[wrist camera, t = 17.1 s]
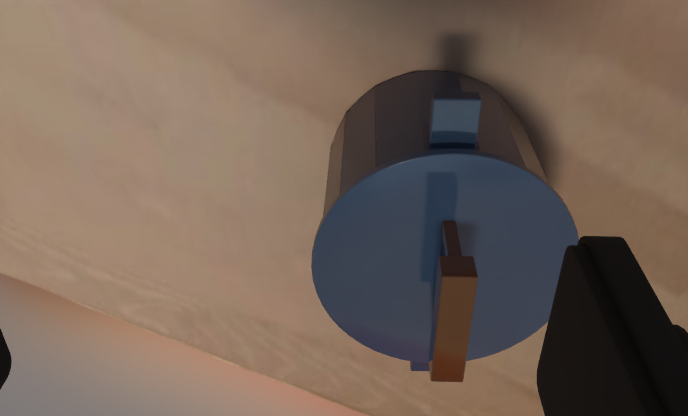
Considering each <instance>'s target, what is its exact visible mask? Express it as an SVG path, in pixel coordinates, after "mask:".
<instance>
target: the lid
mask: <svg viewBox="0 0 688 416" xmlns="http://www.w3.org/2000/svg"><path fill="white" fill-rule="evenodd" d="M578 241H579V239H578V233H577V229H576V226H575V224H574V221H573V218H572V216H571V214H570V212H569V210H568V208H567V206H566V205H565V203H564V201H563V199H562V198H561V197H560V196H559V194H558V193H557V192H556V191H555V190H554V188H553V187H552V186H551V185H550V184H548V183H547V182H546V181H545V180H544V179H543V178H542V177H541V176H539V175H538V174H536V173H535V172H533V171H532V170H530V169H529V168H527V167H525V166H523V165H521V164H519V163H517V162H515V161H513V160H511V159H508V158H505V157H502V156H499V155H496V154H493V153H488V152H483V151H477V150H469V149H456V148H453V149H434V150H428V151H421V152H416V153H412V154H408V155H405V156H401V157H398V158H395V159H393V160H390V161H388V162H386V163H383V164H381V165H379V166H377V167H375V168H374V169H372V170H370V171H368V172H366V173H365V174H363V175H362V176H361V177H359V178H358V179H356V180H355V181H354V182H352V183H351V184H350V185H349V186H348V187H347V188H346V189H345V190H344V191H343V192H341V193H340V194H339V195H338V197H337V198H336V199H335V200H334V202H333V203H332V204H331V205H330V207H329V208H328V210H327V211H326V213H325V215H324V217H323V218H322V220H321V222H320V225H319V227H318V230H317V232H316V235H315V240H314V245H313V250H312V266H311V267H312V276H313V282H314V285H315V289H316V292H317V295H318V297H319V299H320V301H321V303H322V305H323V307H324V308H325V310H326V311H327V313H328V314H329V316H330V317H331V318H332V319H333V321H334V322H335V323H336V324H337V325H338V326H339V327H340V328H341V329H342V330H343V331H344V332H346V333H347V334H348V335H349V336H350V337H352V338H353V339H355V340H356V341H358V342H359V343H361V344H363V345H365V346H367V347H369V348H371V349H373V350H375V351H377V352H380V353H382V354H385V355H388V356H391V357H395V358H398V359H402V360H408V361H414V362H422V363H429V369H430V379H431V381H438V382H463V378H464V371H465V364H466V361H469V360H473V359H478V358H482V357H486V356H489V355H492V354H495V353H498V352H500V351H503V350H505V349H507V348H510V347H512V346H514V345H515V344H517V343H519V342H521V341H523V340H525V339H526V338H527V337H529V336H530V335H532V334H533V333H535V332H536V331H537V330H539V329H540V328H541V327H542V326H543V325H545V324H546V323H547V322H548V321H549V317H550V313H551V309H552V304H553V300H554V296H555V292H556V287H557V283H558V279H559V275H560V271H561V266H562V262H563V258H564V254H565V251H566V248H567V247H568V246H569V245H577V244H578Z"/></svg>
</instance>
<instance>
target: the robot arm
mask: <svg viewBox="0 0 688 416" xmlns="http://www.w3.org/2000/svg"><path fill="white" fill-rule="evenodd" d="M10 369H11V355H10V352H9V349H8V347H7V344H6V342H5V339H4V337H3V334H2V332H1V329H0V389H1V387H2V386H3V384H4V382H5V381H6V379H7V377H8V375H9V372H10ZM537 387H538V392H539V396H540V399H541V403H542V407H543V410H544V414H545V416H688V333H687V332H686V331H685V329H684V328H682V327H680V326H678V325H673V324H672V323H671V321H670V319H669V317H668V316H667V314H666V312H665V310H664V308H663V307H662V305H661V303H660V301H659V300H658V298H657V296H656V294H655V292H654V291H653V289H652V287H651V285H650V284H649V282H648V280H647V278H646V276H645V275H644V273H643V271H642V269H641V267H640V266H639V264H638V262H637V260H636V259H635V257H634V255H633V253H632V251H631V250H630V248H629V246H628V244H627V243H626V241H625V240H624V239H623V238H621V237H604V236H583V237H581V238H580V240H579V241H578V244H577V245H569V246H568V247H567V248H566V251H565V254H564V258H563V262H562V266H561V271H560V275H559V279H558V283H557V287H556V292H555V296H554V300H553V304H552V309H551V313H550V317H549V321H548V325H547V330H546V334H545V338H544V342H543V347H542V351H541V355H540V359H539V364H538V368H537Z"/></svg>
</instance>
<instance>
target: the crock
mask: <svg viewBox="0 0 688 416" xmlns="http://www.w3.org/2000/svg"><path fill="white" fill-rule="evenodd" d="M453 148H456V149H469V150H477V151H483V152H488V153H493V154H496V155H499V156H502V157H505V158H508V159H511V160H513V161H515V162H517V163H519V164H521V165H523V166H525V167H527V168H529V169H530V170H532V171H533V172H535V173H536V174H538V175H539V176H541V177H542V178H543V179H544V180H545V181H546V182H547V183H548V184H549V182H548V180H547V178H546V176H545V174H544V171H543V169H542V167H541V165H540V162H539V160H538V158H537V156H536V154H535V151H534V149H533V147H532V145H531V142H530V140H529V138H528V136H527V134H526V131H525V129H524V127H523V125H522V122H521V120H520V118H519V116H518V115H517V114H516V113H515V112H514V111H513V109H512V108H511V107H510V105H509V104H508V103H507V102H506V100H505V99H504V98H503V97H501V96H500V95H499V94H498V93H497V92H496V91H495V90H493V89H492V88H490V87H489V86H487V85H486V84H484V83H482V82H480V81H478V80H476V79H474V78H471V77H468V76H465V75H462V74H458V73H453V72H448V71H419V72H413V73H408V74H404V75H401V76H398V77H394V78H392V79H390V80H388V81H385V82H383V83H381V84H379V85H378V86H376V87H374V88H373V89H371V90H370V91H368V92H367V93H366V94H365V95H363V96H362V97H361V98H360V99H359V100H358V101H357V102H356V103H355V104H354V105H353V106H352V107H351V108H350V110H349V111H348V112H347V113H346V115H345V116H344V118H343V120H342V122H341V124H340V125H339V127H338V130H337V132H336V135H335V138H334V141H333V143H332V145H331V149H330V158H329V167H328V176H327V186H326V195H325V204H324V213H323V217H324V215H325V213H326V211H327V210H328V208H329V207H330V205H331V204H332V203H333V202H334V200H335V199H336V198H337V197H338V195H339V194H340V193H341V192H343V191H344V190H345V189H346V188H347V187H348V186H349V185H350V184H351V183H352V182H354V181H355V180H356V179H358V178H359V177H361V176H362V175H363V174H365V173H366V172H368V171H370V170H372V169H374V168H375V167H377V166H379V165H381V164H383V163H386V162H388V161H390V160H393V159H395V158H398V157H401V156H405V155H408V154H412V153H416V152H421V151H428V150H434V149H453ZM410 368H411V371H430V369H429V363H422V362H414V361H410Z"/></svg>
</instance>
